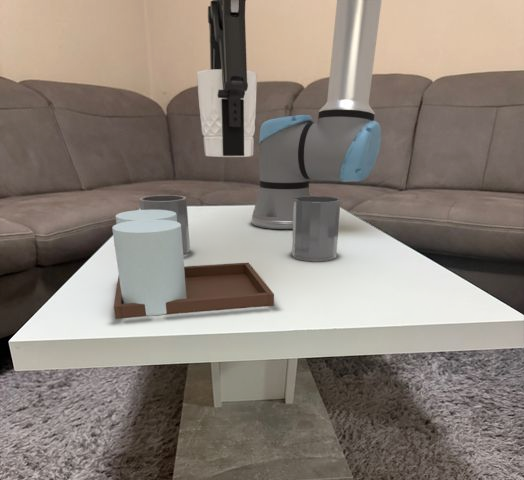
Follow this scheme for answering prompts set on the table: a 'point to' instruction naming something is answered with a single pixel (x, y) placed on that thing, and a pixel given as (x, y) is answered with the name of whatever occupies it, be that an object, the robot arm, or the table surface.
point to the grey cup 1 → (170, 204)
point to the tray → (209, 291)
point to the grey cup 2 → (315, 228)
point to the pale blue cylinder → (150, 263)
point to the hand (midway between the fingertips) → (228, 154)
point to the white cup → (212, 112)
